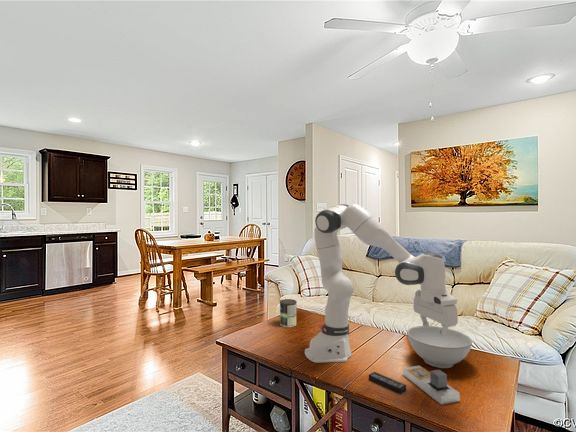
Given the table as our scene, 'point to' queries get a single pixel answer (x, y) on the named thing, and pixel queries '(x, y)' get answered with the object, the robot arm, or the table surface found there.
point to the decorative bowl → (439, 345)
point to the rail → (423, 382)
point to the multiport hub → (387, 382)
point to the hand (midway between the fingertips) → (434, 330)
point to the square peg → (438, 380)
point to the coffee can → (288, 312)
